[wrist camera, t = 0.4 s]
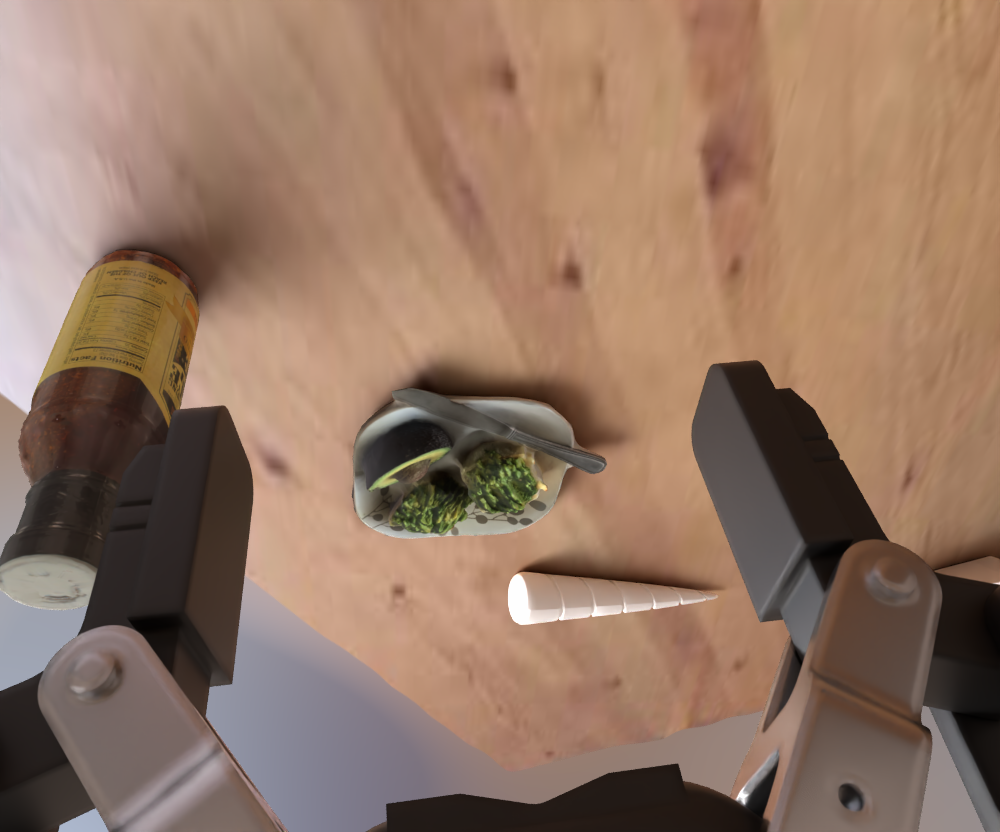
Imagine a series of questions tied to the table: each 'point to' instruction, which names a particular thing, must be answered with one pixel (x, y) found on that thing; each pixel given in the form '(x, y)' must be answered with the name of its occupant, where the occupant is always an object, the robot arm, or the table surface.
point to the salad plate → (462, 464)
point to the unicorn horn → (588, 597)
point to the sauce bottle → (97, 420)
